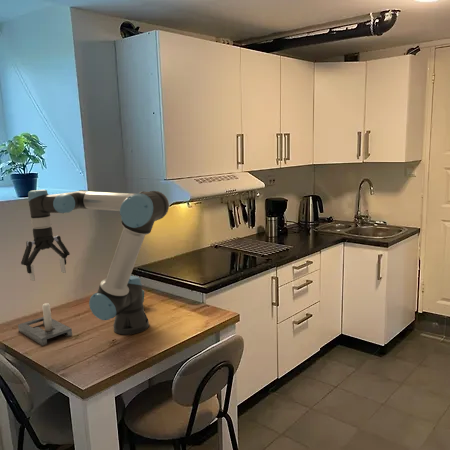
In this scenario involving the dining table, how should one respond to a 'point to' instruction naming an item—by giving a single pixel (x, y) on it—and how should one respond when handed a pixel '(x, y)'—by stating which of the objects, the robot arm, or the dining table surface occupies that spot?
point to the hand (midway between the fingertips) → (48, 276)
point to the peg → (47, 317)
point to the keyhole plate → (40, 334)
